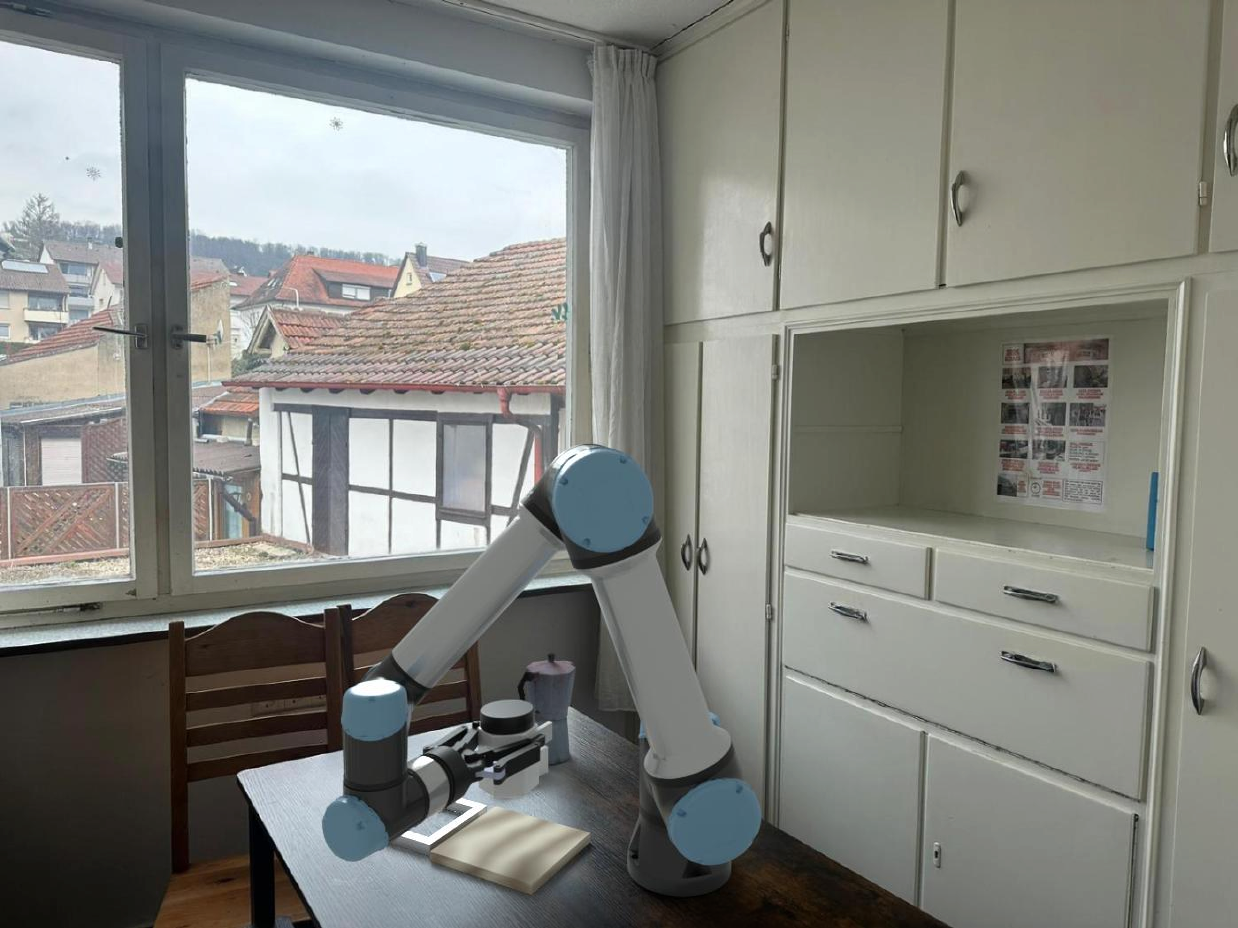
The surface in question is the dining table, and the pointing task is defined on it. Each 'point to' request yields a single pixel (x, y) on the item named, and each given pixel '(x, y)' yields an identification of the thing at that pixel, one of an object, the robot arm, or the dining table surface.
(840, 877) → the dining table surface
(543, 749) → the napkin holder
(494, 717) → the jar
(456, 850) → the board
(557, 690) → the moka pot
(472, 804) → the white square frame
